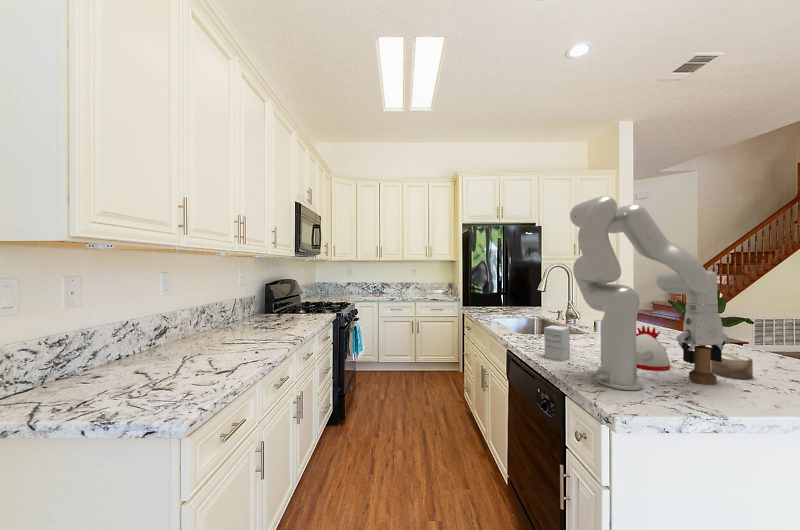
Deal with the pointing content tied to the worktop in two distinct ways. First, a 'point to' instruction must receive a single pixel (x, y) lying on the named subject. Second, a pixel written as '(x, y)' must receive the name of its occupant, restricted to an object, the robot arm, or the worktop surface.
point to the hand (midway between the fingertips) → (702, 361)
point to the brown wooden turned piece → (702, 366)
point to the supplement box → (557, 342)
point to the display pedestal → (733, 367)
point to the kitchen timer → (650, 351)
